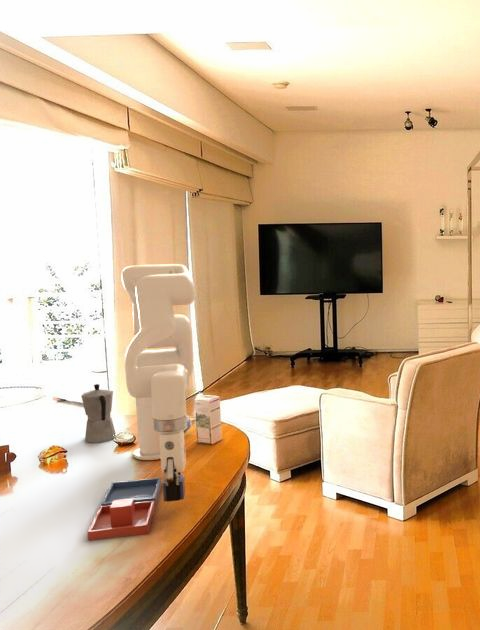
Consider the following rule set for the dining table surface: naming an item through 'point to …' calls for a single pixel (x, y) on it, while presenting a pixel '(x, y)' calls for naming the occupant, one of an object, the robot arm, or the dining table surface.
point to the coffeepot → (98, 415)
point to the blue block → (182, 486)
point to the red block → (122, 512)
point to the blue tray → (133, 491)
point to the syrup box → (208, 419)
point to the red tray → (140, 525)
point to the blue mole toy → (190, 422)
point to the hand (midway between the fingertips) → (174, 495)
